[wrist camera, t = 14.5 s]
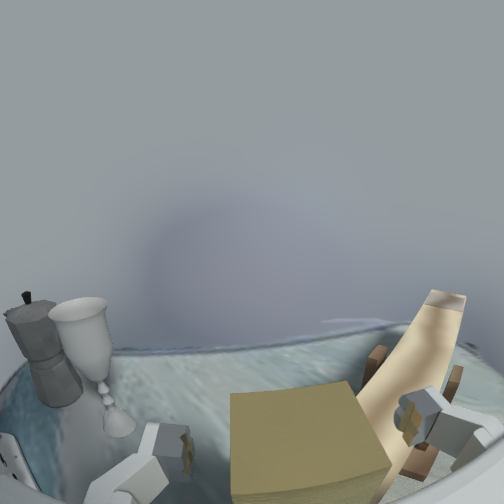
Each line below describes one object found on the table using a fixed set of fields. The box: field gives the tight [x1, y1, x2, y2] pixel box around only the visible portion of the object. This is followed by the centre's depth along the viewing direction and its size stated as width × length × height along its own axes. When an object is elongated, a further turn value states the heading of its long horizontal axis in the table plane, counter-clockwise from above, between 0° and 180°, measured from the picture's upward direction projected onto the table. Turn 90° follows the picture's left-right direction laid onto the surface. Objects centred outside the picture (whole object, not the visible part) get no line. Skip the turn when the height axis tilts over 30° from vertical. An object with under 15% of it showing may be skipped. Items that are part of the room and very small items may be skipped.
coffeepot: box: [3, 291, 83, 408], centre depth 32 cm, size 15×9×18 cm, turn 100°
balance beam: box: [356, 290, 466, 504], centre depth 23 cm, size 7×49×2 cm, turn 134°
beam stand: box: [361, 345, 463, 482], centre depth 24 cm, size 14×10×12 cm
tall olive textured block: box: [230, 380, 392, 504], centre depth 8 cm, size 4×4×10 cm
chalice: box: [48, 297, 136, 438], centre depth 27 cm, size 7×7×18 cm
